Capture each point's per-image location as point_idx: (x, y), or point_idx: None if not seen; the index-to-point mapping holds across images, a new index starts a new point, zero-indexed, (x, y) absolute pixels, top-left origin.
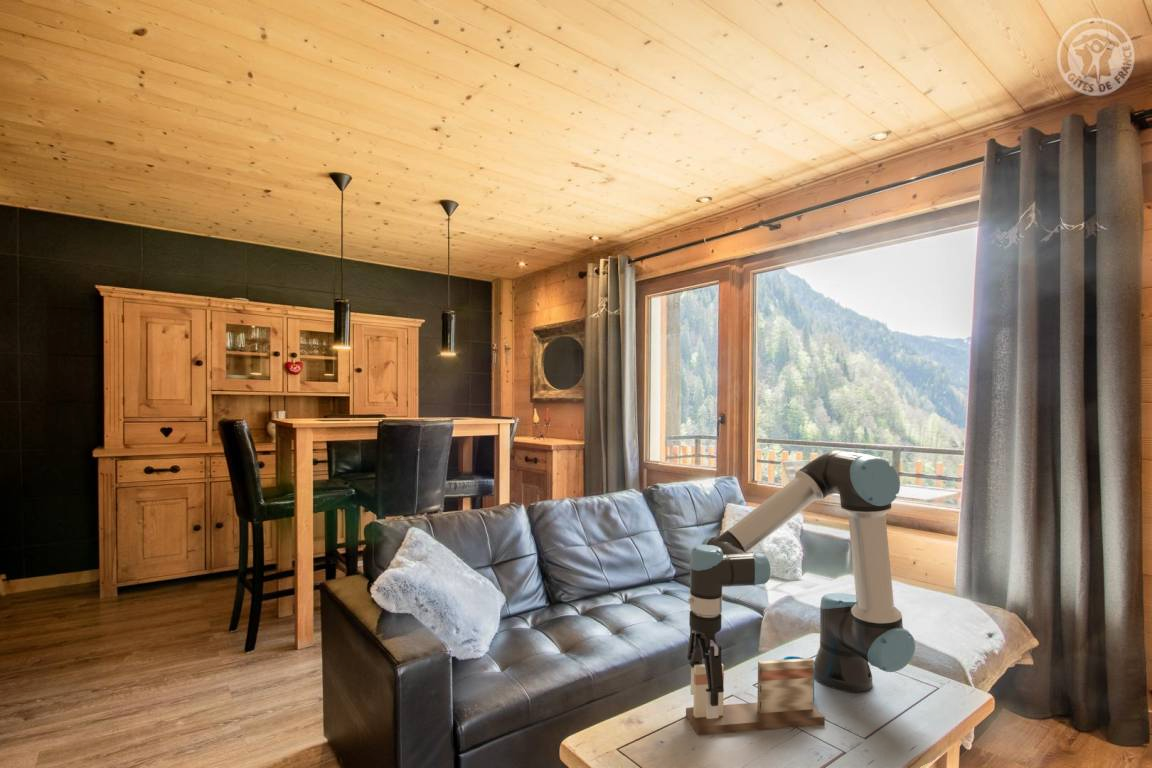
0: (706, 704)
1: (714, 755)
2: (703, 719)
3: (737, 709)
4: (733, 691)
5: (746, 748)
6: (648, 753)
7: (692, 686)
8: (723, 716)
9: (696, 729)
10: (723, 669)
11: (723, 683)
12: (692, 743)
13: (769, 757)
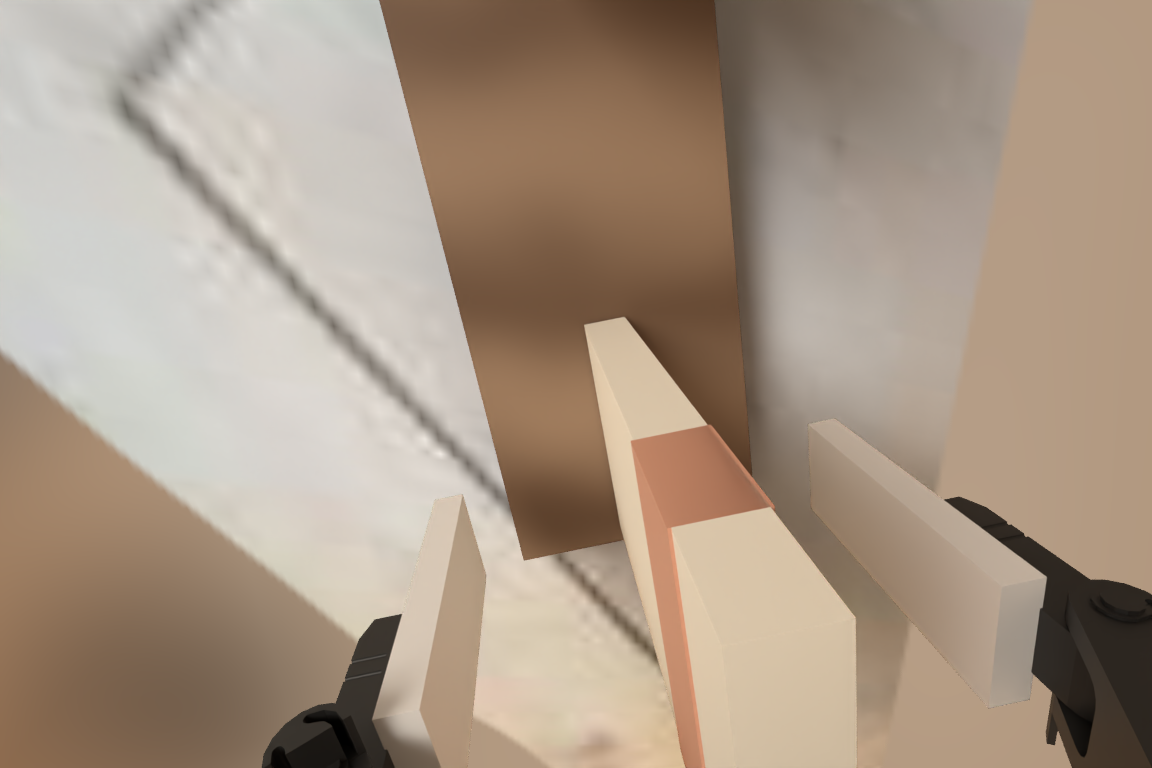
0: (874, 574)
1: (924, 419)
2: None
3: (514, 159)
4: (44, 73)
5: (892, 199)
6: (858, 710)
7: (480, 627)
8: (629, 313)
9: None
10: (806, 559)
11: (706, 424)
12: (804, 519)
13: (1011, 50)
